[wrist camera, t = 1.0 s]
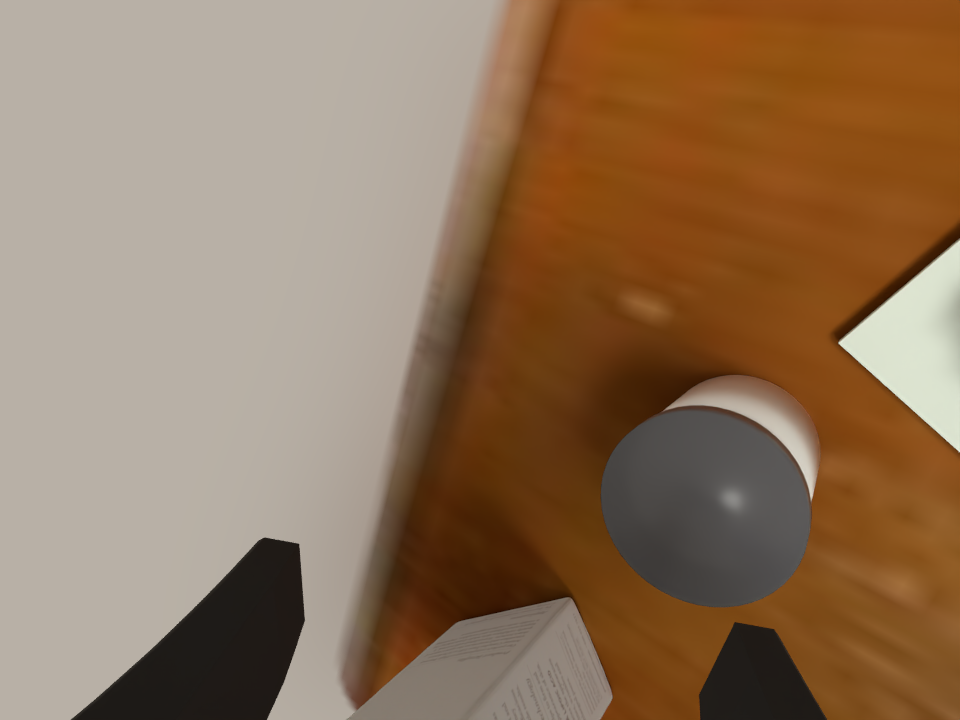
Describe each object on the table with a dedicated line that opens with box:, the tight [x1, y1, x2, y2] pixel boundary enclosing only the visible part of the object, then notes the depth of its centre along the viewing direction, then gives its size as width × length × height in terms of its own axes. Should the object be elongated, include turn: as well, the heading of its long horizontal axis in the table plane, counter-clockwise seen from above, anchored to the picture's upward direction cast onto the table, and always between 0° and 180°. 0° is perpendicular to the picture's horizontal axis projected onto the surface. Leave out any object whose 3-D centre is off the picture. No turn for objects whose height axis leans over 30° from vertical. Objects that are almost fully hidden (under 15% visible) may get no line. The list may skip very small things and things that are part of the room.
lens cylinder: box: [601, 375, 821, 607], centre depth 19 cm, size 5×5×6 cm
